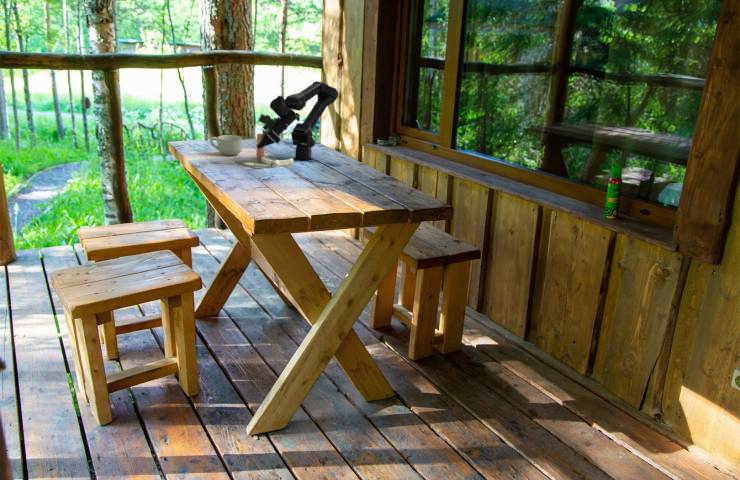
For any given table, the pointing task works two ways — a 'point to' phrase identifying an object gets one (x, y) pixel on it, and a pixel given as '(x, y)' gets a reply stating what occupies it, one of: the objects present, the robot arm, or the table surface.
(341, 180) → the table surface
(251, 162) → the board
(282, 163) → the cream dumbbell
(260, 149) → the brown cylinder with stick
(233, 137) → the teacup
